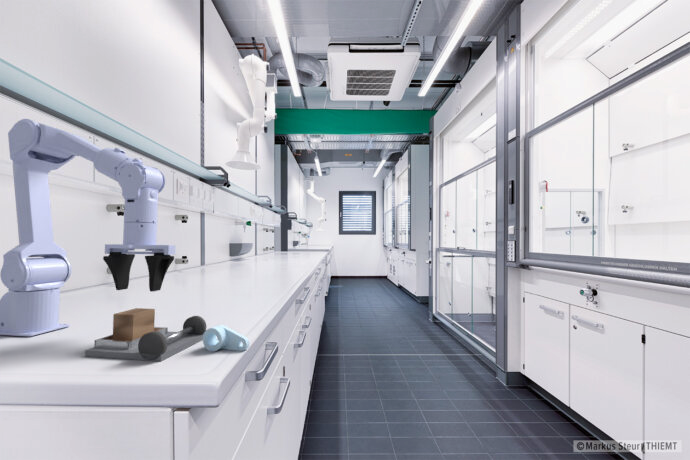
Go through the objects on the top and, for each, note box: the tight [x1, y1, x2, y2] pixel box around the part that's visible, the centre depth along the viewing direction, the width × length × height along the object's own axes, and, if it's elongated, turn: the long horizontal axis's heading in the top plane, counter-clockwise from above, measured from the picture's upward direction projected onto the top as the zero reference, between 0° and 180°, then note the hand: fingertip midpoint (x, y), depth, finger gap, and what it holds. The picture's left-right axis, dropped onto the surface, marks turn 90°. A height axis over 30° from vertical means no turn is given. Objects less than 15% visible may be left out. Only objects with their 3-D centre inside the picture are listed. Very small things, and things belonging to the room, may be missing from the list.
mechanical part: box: [202, 324, 250, 352], centre depth 55 cm, size 8×2×4 cm, turn 73°
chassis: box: [84, 315, 207, 362], centre depth 57 cm, size 14×12×4 cm
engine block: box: [112, 307, 156, 341], centre depth 57 cm, size 4×5×5 cm
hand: (138, 290), depth 63 cm, fingers open, 7 cm apart
